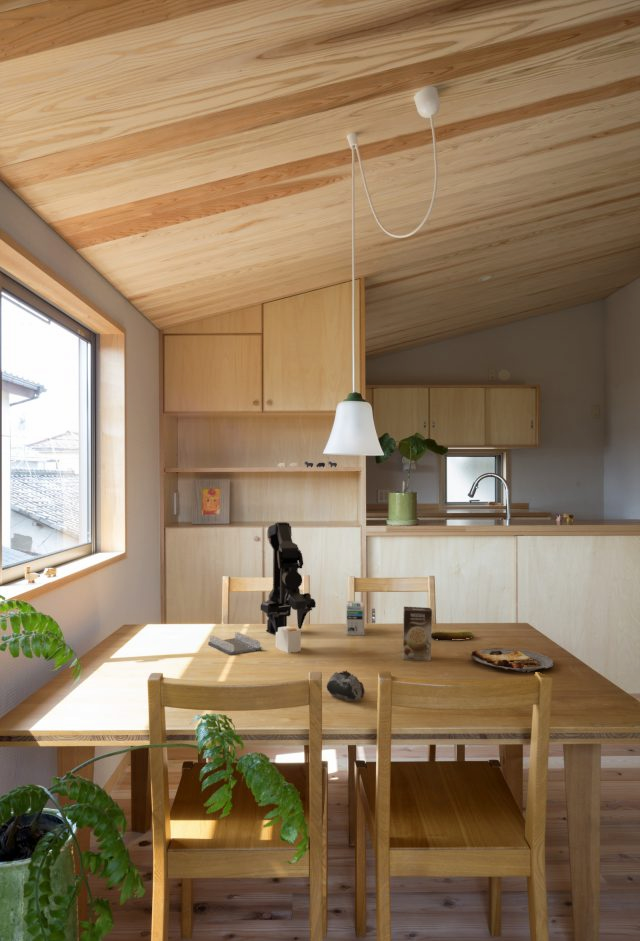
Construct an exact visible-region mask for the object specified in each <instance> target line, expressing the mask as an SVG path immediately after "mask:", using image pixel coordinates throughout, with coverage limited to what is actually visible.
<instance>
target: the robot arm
mask: <svg viewBox="0 0 640 941" xmlns="http://www.w3.org/2000/svg"><path fill="white" fill-rule="evenodd" d="M266 536H267V539H268V542H269V545H270V547H271V548H272V589H271V591H270V593H269V594H268V600H266V601H262V602H261V604H260V611H263V612H264V614H265V616H266V617H267V618H268V619H267V622H266V623H267V624H266V625H267V626H266V630H265V632H267V633H270V634H272V635H276V632H278V627H285V626H288V625H287V624H288V622H287V621H288V617H290V616H291V612H292V611H291V610H294V611H296V616H297V617H296V618H297V629H298V630H301V629H302V627H303V624H304V621H305V619H306V616H307V614H308V613H309V612H310V611H312V610H313V609H314V608H316V605H317V604H316V600H315V599H314V598H311V597H312V595H311V593H309V592H306V593H301V592H300V591H301V590H300V586H301V585H302V583H303V577H302V575H301V573H299V569H303V566H304V558H303V554H302V551H301V549H299V546H298V544H296V543H295V542H293V539H292V536H293V535H292V525H290V523H289V522H288V521H287V522H284V521H283V522H275V523H274V524H273V525H270V526H268V527H267V534H266Z"/></svg>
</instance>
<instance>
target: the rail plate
mask: <svg viewBox="0 0 640 941" xmlns="http://www.w3.org/2000/svg"><path fill="white" fill-rule="evenodd" d="M207 643H208V646H210V647H212V648H214V649H216V650H218V651H220V652H223V653H224V654H226V655H228V656H233V655H238V654H237V653H240V654H244V653H243V652H246V653H251V652H250V651H253V652H257V651H256V650H259V651H262V646H261V641H260V640H257V639H255V638H252V637H250V636H248V635H246V634H243V633H241V632H239V631H236V632H234V638H226V639H221V638H220V637H218V636H215V635H210V636H209V641H208V642H207ZM232 654H233V655H232Z"/></svg>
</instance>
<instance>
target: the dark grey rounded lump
mask: <svg viewBox="0 0 640 941" xmlns="http://www.w3.org/2000/svg"><path fill="white" fill-rule="evenodd" d="M364 687H365V686H364V684H363V682H360V680H359V679H358V676H355V675H354V674H353V673H351V672H348V671H347V670H344V671H340V672H338V671H337V672H336V671H335V672H334V673H333V674H332V675H331V676H330V678H329V680H328V682H327V684H326V689H327V692H329V694H330V695H331V696H332V697H334V696H335V698H336V699H337V698H338V699H339V700H340V699H341V700H342V699H343V700H342V701H345V700H347V702H349V701H350V702H355V701H360V700H361V699H362V698H364V695H365V692H366V690H365V688H364Z"/></svg>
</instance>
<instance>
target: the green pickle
mask: <svg viewBox="0 0 640 941" xmlns="http://www.w3.org/2000/svg"><path fill="white" fill-rule="evenodd" d="M471 637H473V638H474V632H472V631H471V630H466V629H462V630H455V631H452V630H449V631H448V630H447V631H446V630H442V631H441V630H437V631H436V630H435V631H433V632H431V639H433V640H435V639H438V640H437V641H440V640H452V639H466V638H471Z"/></svg>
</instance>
